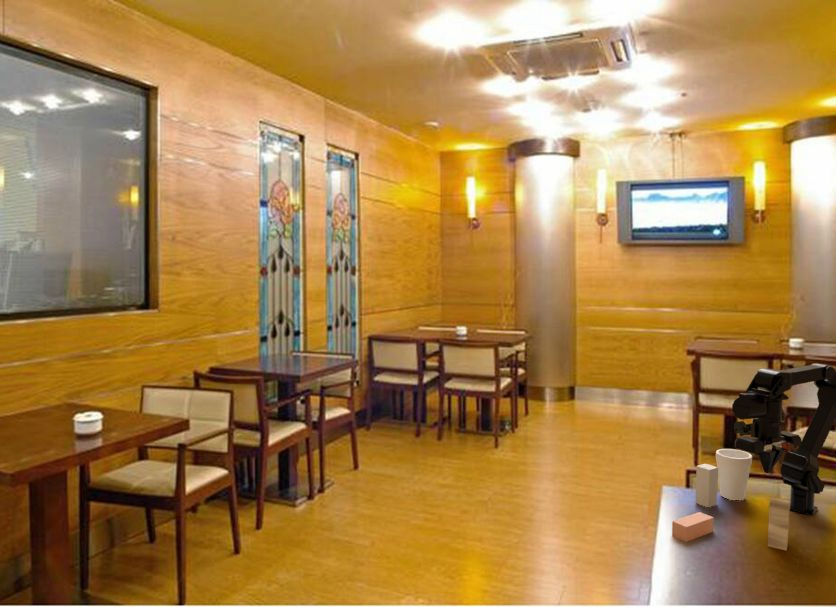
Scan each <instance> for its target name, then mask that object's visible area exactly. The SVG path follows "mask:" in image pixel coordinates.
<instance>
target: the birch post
mask: <svg viewBox="0 0 836 607" xmlns="http://www.w3.org/2000/svg"><path fill="white" fill-rule="evenodd" d="M768 508H769V509H768V511H769V512H768V531H767V534H768V535H767V547H770V548H773V549H778V550H784V551H787V549H788V545H789V529H790V511H791V510H790V499H789V500H788V499H783V498H777V497H773V496H771V497H770V500H769V507H768Z"/></svg>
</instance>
